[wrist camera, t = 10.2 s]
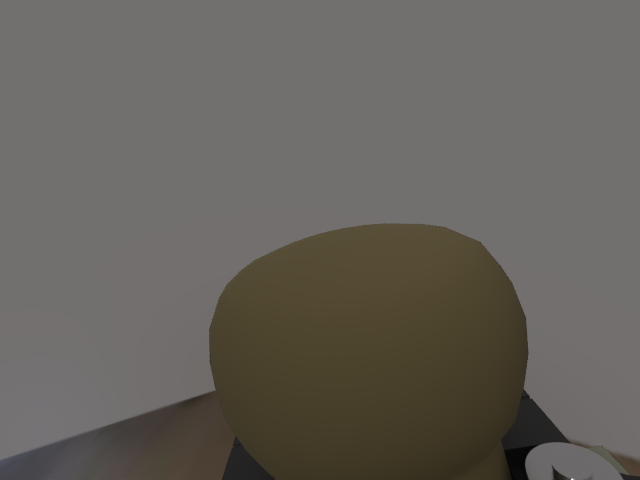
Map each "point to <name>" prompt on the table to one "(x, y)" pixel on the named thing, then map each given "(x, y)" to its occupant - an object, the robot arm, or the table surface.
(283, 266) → the cork
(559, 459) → the robot arm
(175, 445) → the table surface
